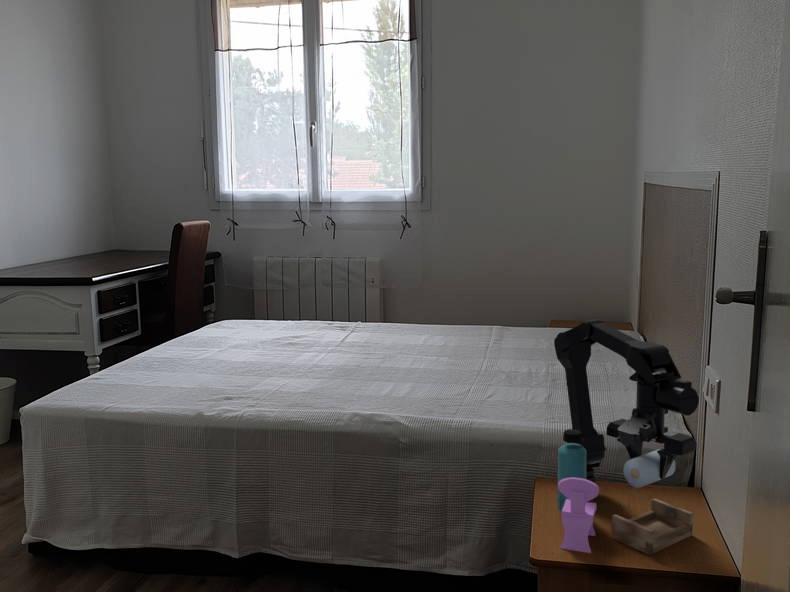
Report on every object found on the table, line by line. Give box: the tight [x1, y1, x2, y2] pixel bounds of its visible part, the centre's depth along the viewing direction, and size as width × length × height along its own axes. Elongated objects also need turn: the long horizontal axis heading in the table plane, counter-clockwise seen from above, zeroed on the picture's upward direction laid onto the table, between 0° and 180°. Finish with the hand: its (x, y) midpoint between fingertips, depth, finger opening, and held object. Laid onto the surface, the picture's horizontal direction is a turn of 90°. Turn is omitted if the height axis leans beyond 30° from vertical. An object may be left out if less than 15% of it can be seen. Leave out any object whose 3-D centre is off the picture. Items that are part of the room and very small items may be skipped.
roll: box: [623, 448, 676, 489], centre depth 162 cm, size 10×6×6 cm, turn 127°
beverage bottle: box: [557, 428, 587, 514], centre depth 169 cm, size 6×7×20 cm
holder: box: [611, 498, 694, 556], centre depth 160 cm, size 10×14×5 cm, turn 126°
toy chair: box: [557, 477, 600, 554], centre depth 158 cm, size 8×9×15 cm
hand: (649, 474), depth 163 cm, fingers closed on roll, 6 cm apart
